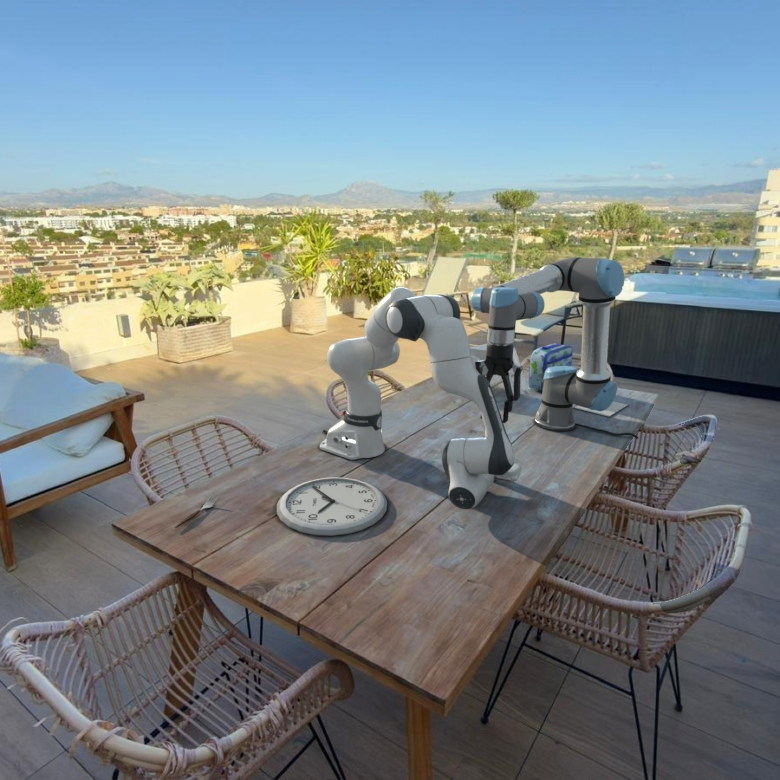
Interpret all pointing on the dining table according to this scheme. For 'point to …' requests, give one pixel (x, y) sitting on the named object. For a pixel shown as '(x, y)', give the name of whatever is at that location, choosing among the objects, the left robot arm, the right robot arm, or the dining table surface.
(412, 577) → the dining table surface
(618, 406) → the invitation card
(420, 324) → the left robot arm
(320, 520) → the wall clock
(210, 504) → the fork
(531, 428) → the dining table surface
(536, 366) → the lunch box
